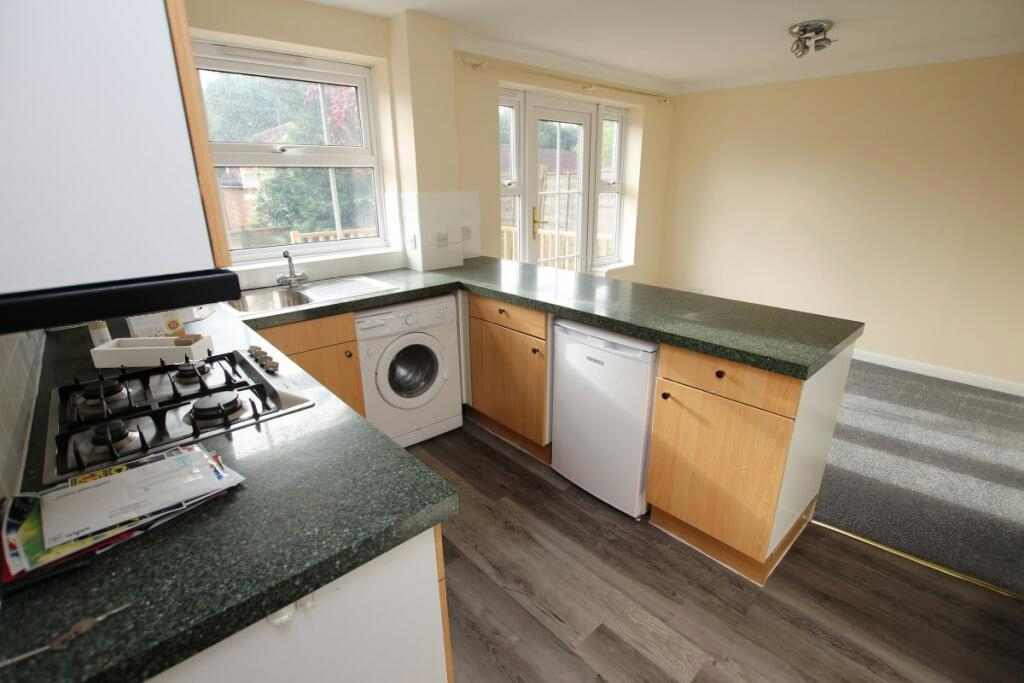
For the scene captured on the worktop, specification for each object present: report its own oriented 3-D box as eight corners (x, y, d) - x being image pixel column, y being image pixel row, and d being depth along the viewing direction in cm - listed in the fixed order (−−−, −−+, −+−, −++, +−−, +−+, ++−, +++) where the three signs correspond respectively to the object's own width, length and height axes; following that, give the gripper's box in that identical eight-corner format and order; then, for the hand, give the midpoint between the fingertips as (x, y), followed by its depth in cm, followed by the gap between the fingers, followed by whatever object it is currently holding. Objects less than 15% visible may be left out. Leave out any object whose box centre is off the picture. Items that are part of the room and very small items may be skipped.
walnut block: (187, 347, 143) (184, 334, 142) (204, 346, 143) (201, 334, 142) (177, 352, 138) (173, 339, 137) (194, 352, 139) (191, 339, 137)
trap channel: (95, 367, 136) (89, 350, 134) (122, 355, 146) (116, 338, 144) (195, 364, 137) (190, 347, 135) (214, 352, 147) (210, 335, 145)
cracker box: (180, 332, 167) (165, 274, 160) (186, 336, 163) (171, 276, 156) (132, 343, 157) (113, 281, 150) (137, 347, 153) (119, 283, 146)
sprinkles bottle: (115, 350, 150) (103, 309, 146) (115, 353, 147) (102, 312, 143) (97, 353, 148) (83, 312, 143) (96, 357, 144) (83, 315, 140)
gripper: (93, 266, 129) (108, 314, 134) (170, 266, 130) (182, 314, 134) (111, 262, 135) (124, 308, 139) (184, 262, 136) (195, 308, 140)
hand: (153, 311), depth 137 cm, fingers closed
